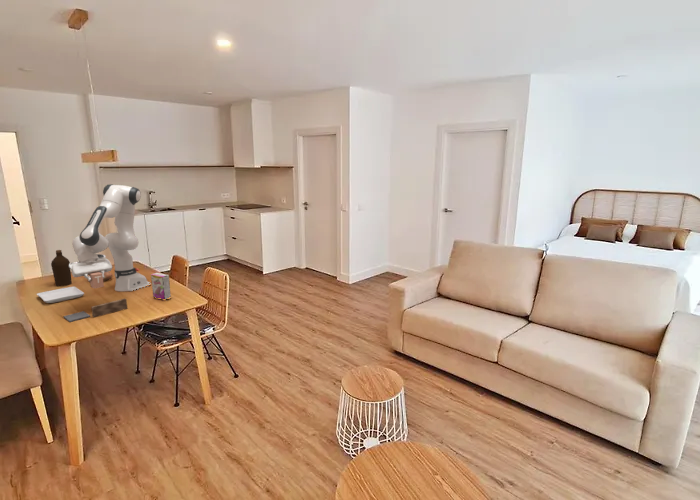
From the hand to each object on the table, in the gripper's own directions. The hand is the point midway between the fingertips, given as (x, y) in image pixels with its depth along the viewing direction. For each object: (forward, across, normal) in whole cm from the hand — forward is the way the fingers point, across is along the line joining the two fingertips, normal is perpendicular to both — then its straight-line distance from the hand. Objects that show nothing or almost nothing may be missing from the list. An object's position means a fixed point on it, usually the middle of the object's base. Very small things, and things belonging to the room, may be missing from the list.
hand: (96, 279), depth 224 cm
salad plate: (-17, -7, +46) cm, 49 cm away
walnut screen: (+18, +3, +9) cm, 21 cm away
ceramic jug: (-32, +24, +60) cm, 72 cm away
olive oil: (-38, +3, +66) cm, 76 cm away
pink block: (+3, 0, +4) cm, 5 cm away
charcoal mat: (+14, -12, +14) cm, 23 cm away
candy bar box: (+18, +34, +10) cm, 40 cm away
